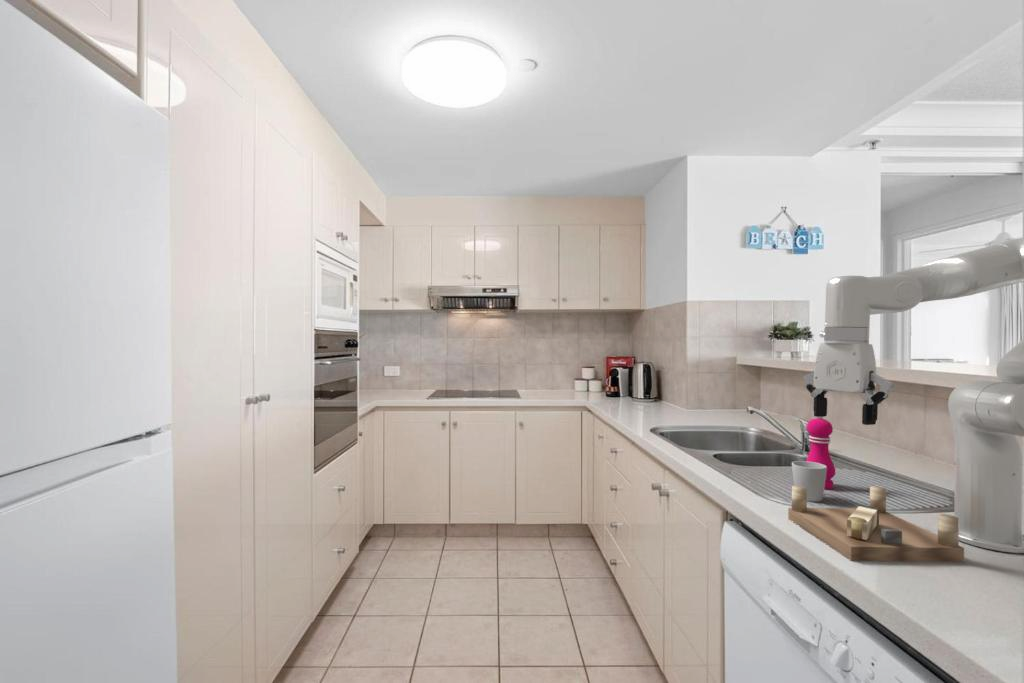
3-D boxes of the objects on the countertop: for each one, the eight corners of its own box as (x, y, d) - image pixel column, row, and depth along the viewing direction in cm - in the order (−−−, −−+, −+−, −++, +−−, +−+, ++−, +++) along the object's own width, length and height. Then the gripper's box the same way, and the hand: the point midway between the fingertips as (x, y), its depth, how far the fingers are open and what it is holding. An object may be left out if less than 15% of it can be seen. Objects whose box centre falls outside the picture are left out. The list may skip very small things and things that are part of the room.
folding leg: (866, 541, 87) (866, 523, 87) (846, 536, 90) (846, 518, 90) (878, 523, 96) (878, 507, 96) (859, 519, 98) (859, 503, 98)
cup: (789, 499, 119) (789, 465, 119) (794, 489, 127) (794, 457, 127) (825, 505, 114) (825, 470, 114) (828, 495, 122) (828, 461, 122)
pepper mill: (823, 481, 134) (823, 410, 134) (841, 490, 126) (842, 414, 126) (798, 482, 133) (798, 411, 133) (815, 490, 126) (815, 415, 126)
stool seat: (851, 560, 85) (851, 519, 85) (788, 519, 105) (788, 485, 105) (963, 561, 85) (964, 520, 85) (879, 519, 105) (879, 486, 105)
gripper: (794, 336, 104) (791, 414, 104) (881, 336, 88) (878, 428, 88) (817, 337, 107) (814, 413, 107) (905, 337, 91) (902, 427, 91)
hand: (843, 420), depth 97 cm, fingers open, 9 cm apart
